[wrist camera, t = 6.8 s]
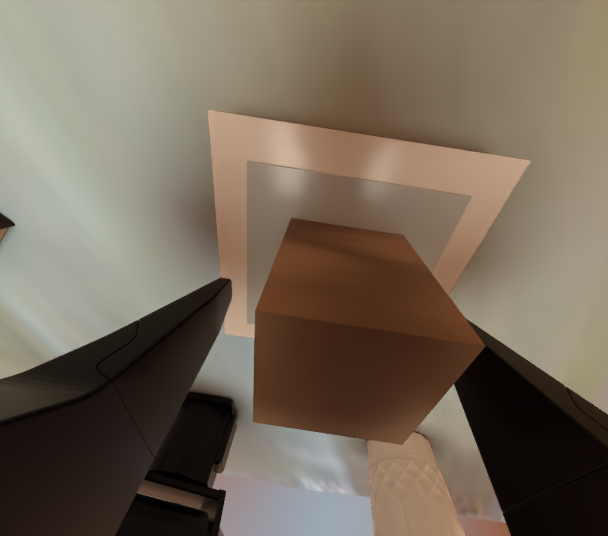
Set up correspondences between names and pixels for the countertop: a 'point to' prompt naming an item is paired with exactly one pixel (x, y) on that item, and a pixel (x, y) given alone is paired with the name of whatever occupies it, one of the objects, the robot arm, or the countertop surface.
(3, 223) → the hardcover book
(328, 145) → the base
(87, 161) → the countertop surface
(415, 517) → the beige textured cup
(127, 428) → the robot arm
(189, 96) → the countertop surface
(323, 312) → the walnut block
